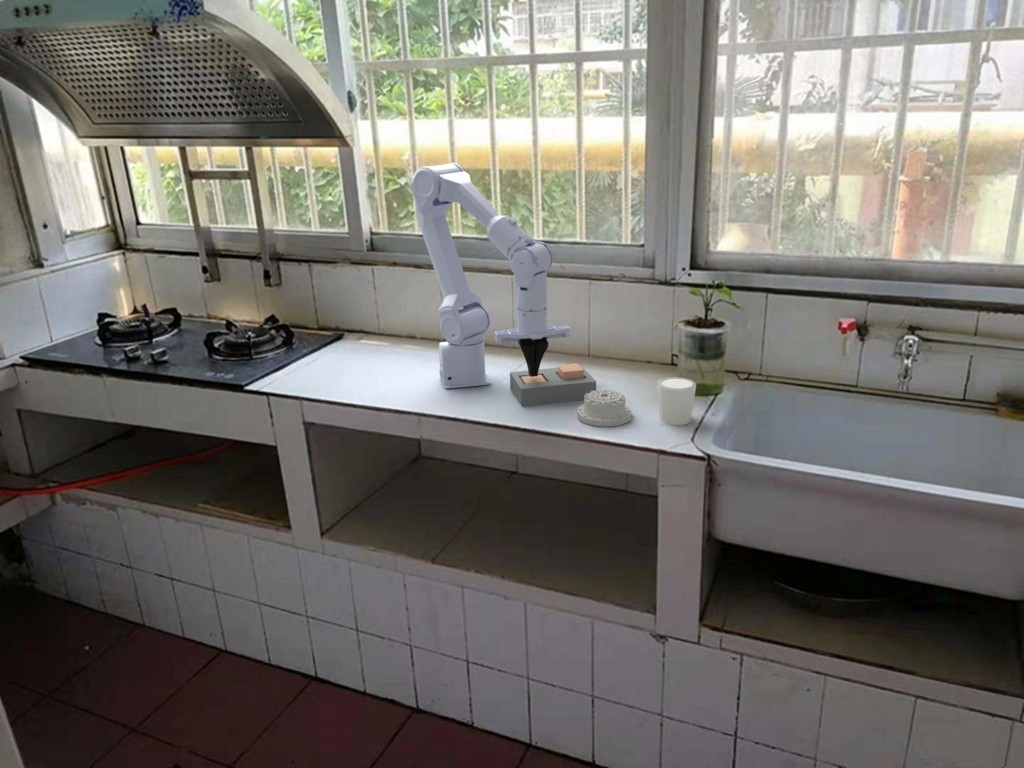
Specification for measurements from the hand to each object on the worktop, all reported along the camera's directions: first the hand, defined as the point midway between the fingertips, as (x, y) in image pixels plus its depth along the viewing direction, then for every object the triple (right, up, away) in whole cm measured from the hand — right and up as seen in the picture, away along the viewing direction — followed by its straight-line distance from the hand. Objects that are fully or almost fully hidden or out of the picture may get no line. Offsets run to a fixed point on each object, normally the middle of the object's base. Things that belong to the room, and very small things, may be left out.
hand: (533, 374), depth 157 cm
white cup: (+25, -8, -12) cm, 29 cm away
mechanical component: (+13, -8, -10) cm, 18 cm away
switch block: (+4, -4, +2) cm, 6 cm away
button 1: (0, -4, +1) cm, 4 cm away
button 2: (+8, -2, +2) cm, 8 cm away
